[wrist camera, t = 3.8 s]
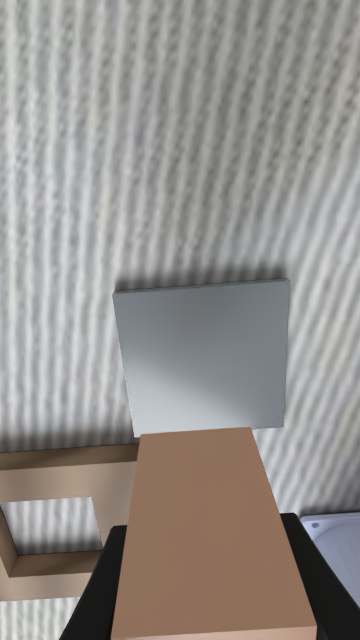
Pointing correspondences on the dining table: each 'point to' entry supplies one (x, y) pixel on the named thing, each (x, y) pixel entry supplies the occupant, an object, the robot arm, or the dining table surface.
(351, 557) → the robot arm
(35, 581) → the pocket board
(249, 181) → the dining table surface
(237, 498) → the block
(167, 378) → the coaster
